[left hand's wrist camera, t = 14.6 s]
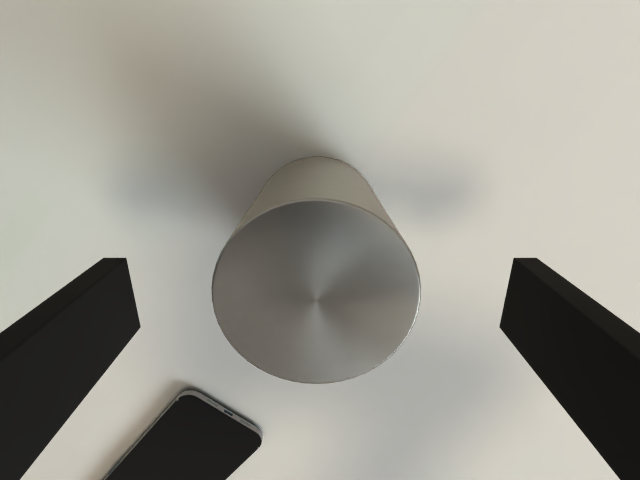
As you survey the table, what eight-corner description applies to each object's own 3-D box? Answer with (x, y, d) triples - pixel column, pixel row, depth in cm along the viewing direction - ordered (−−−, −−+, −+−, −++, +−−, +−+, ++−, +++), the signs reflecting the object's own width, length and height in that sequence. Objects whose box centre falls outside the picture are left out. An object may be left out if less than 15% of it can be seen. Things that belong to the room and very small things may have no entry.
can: (372, 148, 21) (417, 183, 11) (381, 264, 23) (424, 373, 14) (246, 165, 21) (186, 214, 12) (269, 278, 23) (235, 394, 14)
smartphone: (267, 440, 27) (160, 543, 31) (269, 432, 28) (163, 534, 32) (184, 390, 25) (81, 505, 29) (187, 383, 26) (86, 496, 30)
